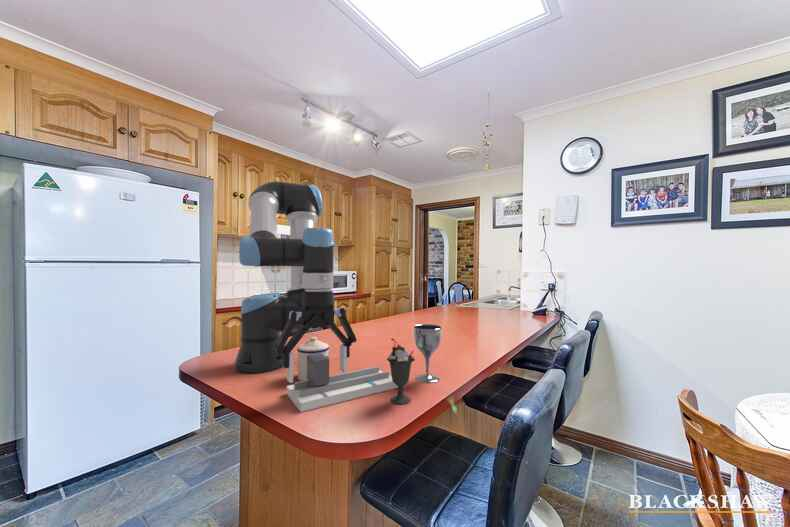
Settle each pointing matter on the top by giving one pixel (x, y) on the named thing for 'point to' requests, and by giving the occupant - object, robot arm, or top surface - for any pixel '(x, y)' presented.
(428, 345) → the wine glass
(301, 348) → the teacup with lid
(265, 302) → the robot arm
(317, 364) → the fader tab
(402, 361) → the sundae
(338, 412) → the top surface
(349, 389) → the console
